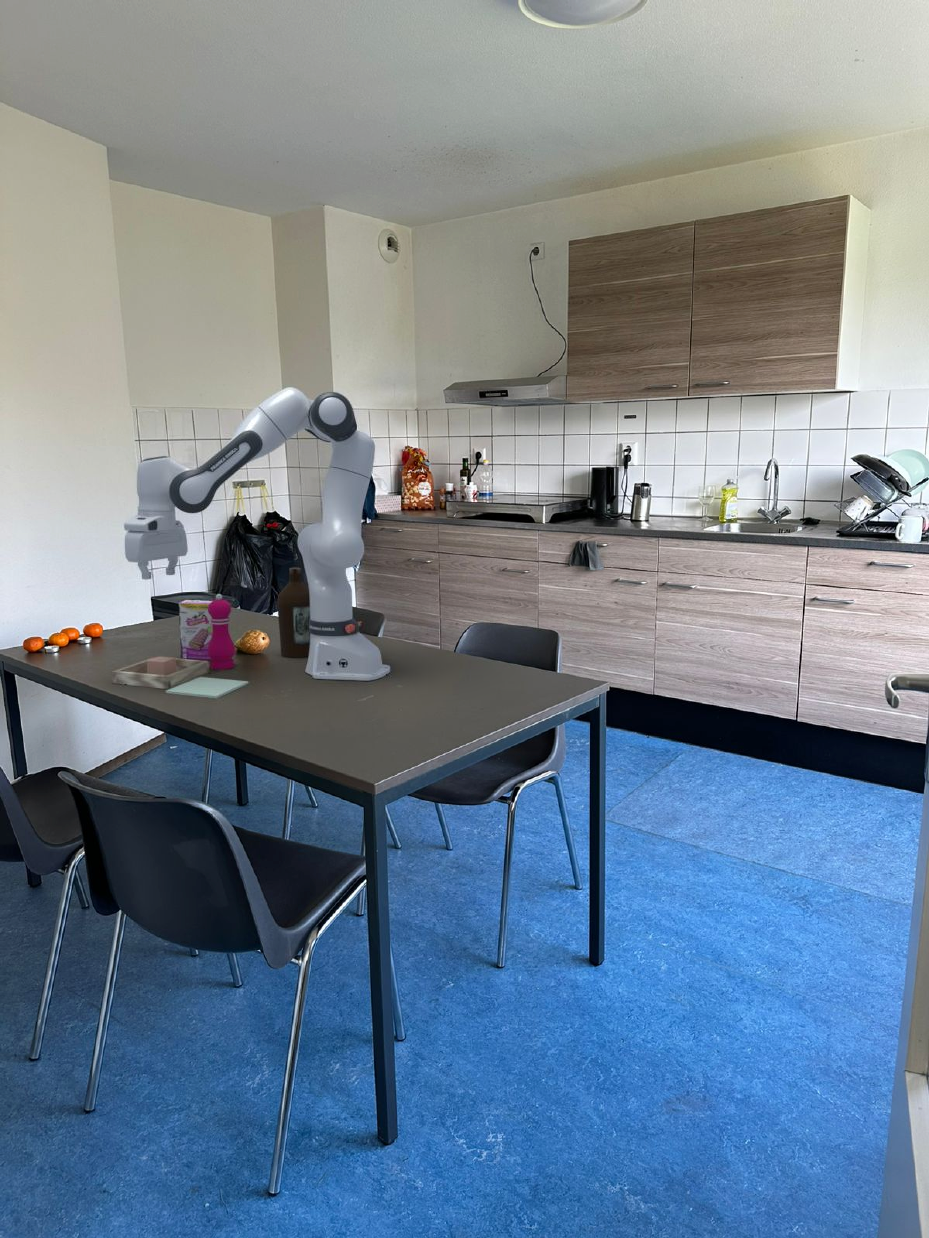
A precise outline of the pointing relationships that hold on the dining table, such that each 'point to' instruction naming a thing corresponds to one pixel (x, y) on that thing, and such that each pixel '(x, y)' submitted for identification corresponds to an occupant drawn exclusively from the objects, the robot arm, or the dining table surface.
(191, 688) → the mat
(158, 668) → the cube
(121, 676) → the cubby frame
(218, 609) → the pepper mill
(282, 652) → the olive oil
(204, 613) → the candy bar box
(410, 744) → the dining table surface
